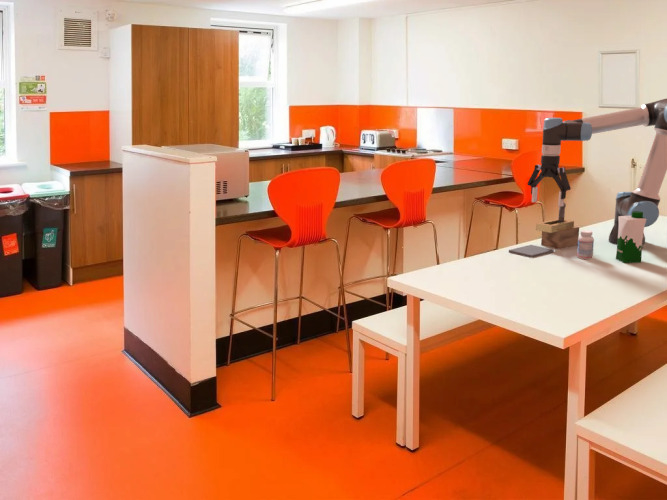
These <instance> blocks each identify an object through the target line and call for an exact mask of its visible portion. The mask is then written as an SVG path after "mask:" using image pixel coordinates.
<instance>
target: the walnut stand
mask: <svg viewBox="0 0 667 500" xmlns="http://www.w3.org/2000/svg"><path fill="white" fill-rule="evenodd" d="M566 205H567V204H566V202H564V205H563V206H561V207H558V218H557V219H558V223H561V222H564V220H565V210H566ZM579 237H580V227H579V226H575V225H574V228H571V229H566V230H562V231H558V232H553V233H549V232H544V231H541V241H540V242H541V245H540V246H542V247H543V246H544V247H546V248H551V249H556V250H557V249H558V250H563V249H566V248H571V247H574V246H578V238H579Z"/></svg>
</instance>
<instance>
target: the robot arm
mask: <svg viewBox="0 0 667 500" xmlns="http://www.w3.org/2000/svg"><path fill="white" fill-rule="evenodd" d="M543 121H544V122H543V127H542V143H541V145H542V146H541V157H540V159H541V160H540V164H535V165H534V169H533V172H532V174H531V176H530V178H529V180H527V181H528V182H527V186H529V187H530V189H531V190H530V195H531V203H537V202H538V191H539V187H538V185H539V184H540V182H541V181H542V180H543V179H544V178H545V177H548V178H552V179H553V180H554V181H555V182H556V185H557V186H558V188H559V190H560V191H558V201H557V204H558V205H557V207H558V208H559V207H561V206H563V205H564V203H565V199H566V197H567V191H570V190H571V185H570V182H569V179H568V175H567V173H566V167H563V166H562V167H560V160H561V155H560V154H561V144H562V142H566V141H567V142H569V141H571V142H573V141H574V142H576V141H577V142H580V141H581V142H586V141H590V140H591V139H592V136H593V135H594V134H599V133H606V132H611V131H617V130H622V129H627V128H634V127H639V126H643V127H652V126H654V131H655V133H656V134H655V136H654V140H653V142H652V146H651V147H650V151H649V154H648V156H647V159H646V162H645V165H644V167H643V169H642V174H641V176H640V179H639V182H638V184H637V188H635V189H634V190H632V191H619V192H617V193H616V198H615V210H614V222H613V226H612V229H611V230H610V233H609V234H608V235H609V236H608V242H609V243H611V244H615V245H617V241H618V229H619V219H618V216H632V212H633V211H639V212H643V218H645V219H646V223H645V226H644V228H648V227H650V226H652V225H654V223H656V222H657V220H658V219H659V216H660V209H659V204H660V202H661V197H660V195H659V193H660V190H661V188H662V186H663V185H662V184H663V182H664V179H665V176H666V174H667V98H663V99H659V100H656V101H653V102H649V103H643V104H642V105H641V106H640V107H635V108H630V109H625V110H619V111H615V112H614V111H613V112H610V113H603V114H599V115H594V116H593V115H592V116H588V117H583V118H579V119H573V120H571V119H569V120H564V119H563V118H562V117H547V118H545V119H544V120H543ZM540 171H541V172H540ZM645 244H646V235H645V232H644V233H643V243H642V246H643V245H645Z"/></svg>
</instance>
